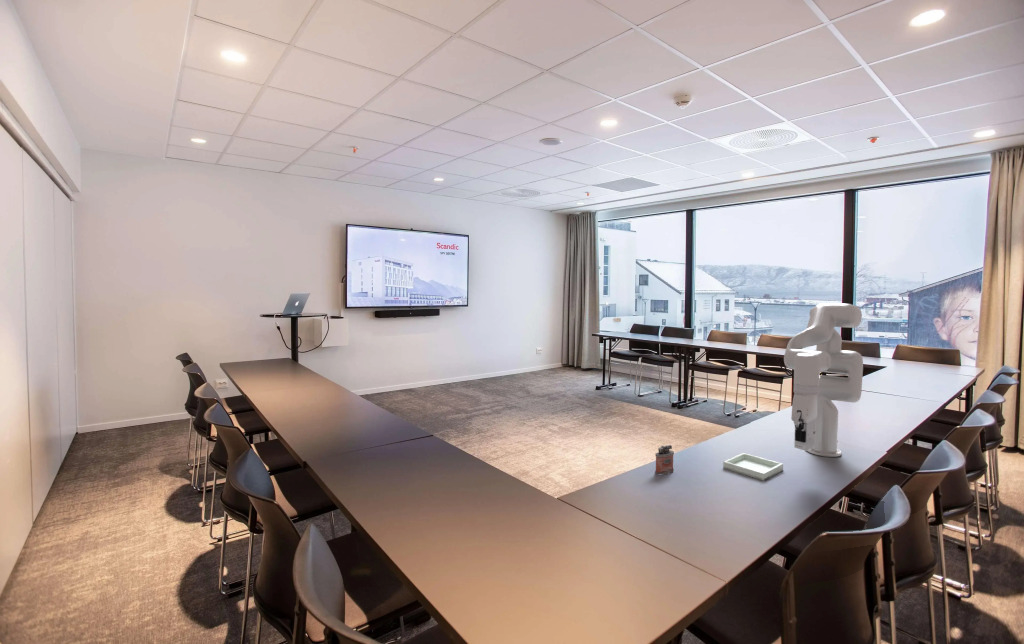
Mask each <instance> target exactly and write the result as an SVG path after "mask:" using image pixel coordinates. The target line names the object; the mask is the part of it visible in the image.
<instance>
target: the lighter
mask: <svg viewBox="0 0 1024 644" xmlns="http://www.w3.org/2000/svg"><path fill="white" fill-rule="evenodd" d="M657 451H658V452H655V453H654V454H655V472H654V473H656V474H655V475H657V474H665V475H668V474H667V473H669V474H671V473H670V472H672V473H673V471H675V470H674V454H675V451H674V450H673V445H671V444H667V445H661V446H660V447H658V449H657Z"/></svg>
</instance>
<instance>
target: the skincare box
mask: <svg viewBox="0 0 1024 644" xmlns="http://www.w3.org/2000/svg"><path fill="white" fill-rule="evenodd" d="M800 421H801V422H803V421H804V420H800ZM800 424H801V423H800ZM801 425H802V426H803V424H801ZM805 431H806V442H805V443H803V442H799V441H796V440H795V439H794V448H795V449H798V450H801V451H806V452H807V450H810V449H812V448H814V447H815V419H814V420H812V421H810V422H808V423H806V427H805Z"/></svg>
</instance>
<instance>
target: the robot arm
mask: <svg viewBox="0 0 1024 644" xmlns="http://www.w3.org/2000/svg"><path fill="white" fill-rule="evenodd" d="M862 315H863V314H862V311H861V308H860V307H859V306H856V305H854V304H852V303H819V304H816V305H815V306H813V307H811V309H810V310H809V320H808V323H807V325H806V329H804V330H802V331H800V332H799V333H797V334H796V335H794V336H793V337H792V338H790V340H789V341H788V343H787V346H786V349H785V353H784V355H783V362H784V366H785V367H786V368H787V369H790V370H793V393H794V394H793V398H792V404H791V415H790V417H791V421H792V422H793V424H794V441H795V440H796V441H799V442H803V443H805V442H806V431H805V427H806V423H808V422H810V421H812V420H814V419H815V447H814V448H812V449H810V450H807V451H806V452H808V453H810V454H812V455H816V456H821V457H827V458H828V457H829V458H836V457H837V458H838V457H840V456H842V451H841V450H840V449H839V448H838V430H839V410H838V407H837V406H836V405H835V403H834V401H837V402H843V403H844V402H845V403H857V402H859V401H860V400H861V396H862V388H863V387H862V386H863V372H864V359H863V356H862V354H861V353H860V352H858V351H855V350H845V349H843V350H842V343H843V339H842V336H841V334H840V332H838V331H837V329H835V328H853V329H855V328H857V327H859V325H860V324H861V322H862V318H863V317H862ZM814 346H816V347H815V349H814V350H812V349H806V348H809V347H814ZM820 373H831V374H840V375H846V376H847V377H843V376H841V377H840V376H834V375H824V374H823V375H822V374H821V375H820ZM800 420H804V421H803V422H801V421H800ZM800 423H801V424H803V426H802V425H801V424H800Z"/></svg>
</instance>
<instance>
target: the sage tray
mask: <svg viewBox="0 0 1024 644" xmlns="http://www.w3.org/2000/svg"><path fill="white" fill-rule="evenodd" d="M722 464H723V467H722V469H725V470H729V471H731V472H734V473H737V474H742V475H744V476H748V477H750V478H753V479H757V480H761V481H766V480H767V479H770V478H771V477H774V476H775V475H777V474H779V473H780V472H783V471H784V463H782V462H779V461H776V460H775V461H774V460H771V459H768V458H764V457H760V456H758V455H757V456H756V455H753V454H749V453H745V452H741V453H740V454H737V455H735V456H733V457H731V458H729V459H726V460H724V461H723V462H722Z"/></svg>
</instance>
